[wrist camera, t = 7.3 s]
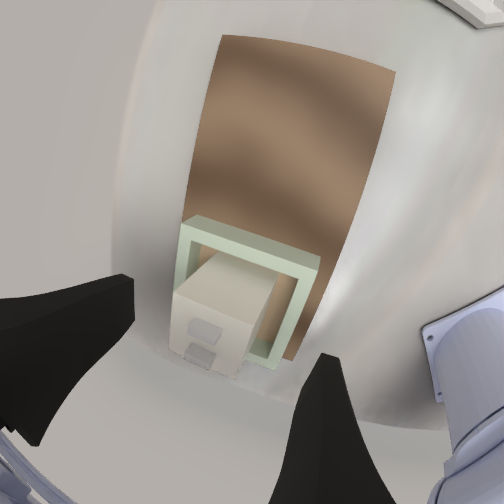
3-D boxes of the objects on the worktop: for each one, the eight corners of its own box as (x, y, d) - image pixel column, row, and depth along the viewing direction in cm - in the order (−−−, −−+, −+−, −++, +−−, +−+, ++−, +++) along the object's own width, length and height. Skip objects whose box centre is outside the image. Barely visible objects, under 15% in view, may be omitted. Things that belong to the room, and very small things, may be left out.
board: (294, 352, 20) (292, 361, 20) (177, 305, 22) (171, 312, 21) (392, 76, 12) (395, 71, 11) (228, 39, 14) (222, 34, 13)
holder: (281, 352, 20) (275, 370, 18) (183, 312, 21) (169, 326, 19) (320, 256, 16) (318, 271, 14) (197, 214, 17) (180, 223, 16)
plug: (262, 322, 19) (229, 390, 13) (208, 300, 19) (161, 357, 14) (280, 272, 17) (248, 337, 11) (219, 250, 18) (164, 300, 12)
